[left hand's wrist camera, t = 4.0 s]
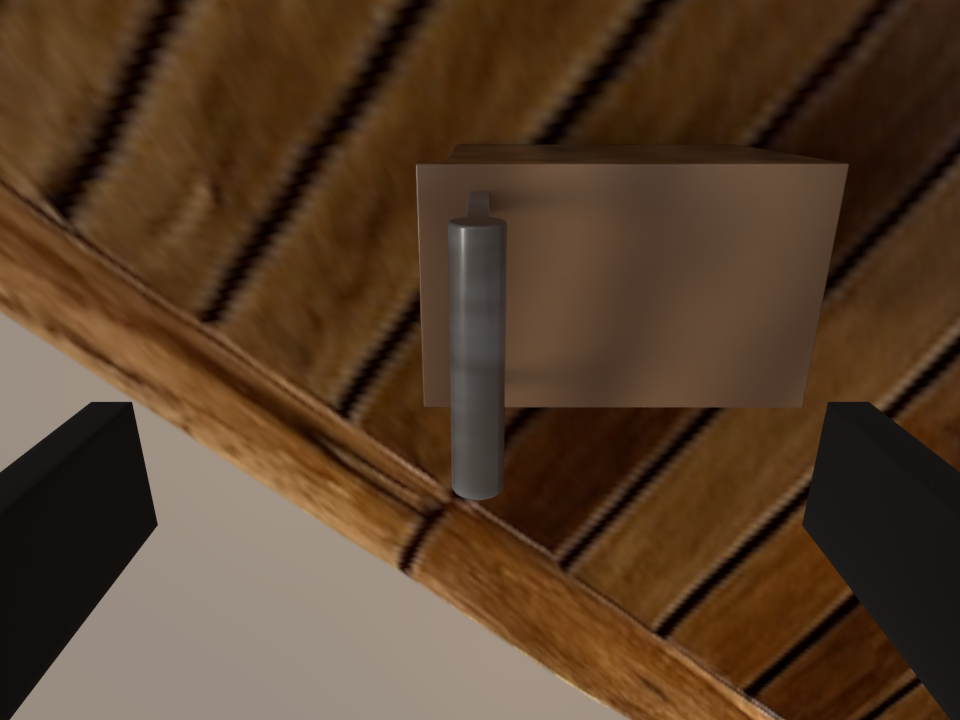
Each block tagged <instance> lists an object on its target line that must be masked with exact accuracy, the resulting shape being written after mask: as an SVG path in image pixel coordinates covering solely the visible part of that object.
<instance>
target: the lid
mask: <svg viewBox="0 0 960 720" xmlns="http://www.w3.org/2000/svg"><path fill="white" fill-rule="evenodd" d="M848 168H849V164H847V163H842V162H418V163H417V164H416V194H417V224H418V253H419V282H420V311H421V341H422V370H423V399H424V407H451V458H452V488H453V490H454V491H455V493H456V494H458V495H459V496H461V497H463V498H466V499H471V500H484V499H489V498H492V497H494V496H496V495H498V494H499V493H500V492H501V490H502V488H503V484H504V416H505V407H802V405H803V399H804V394H805V389H806V384H807V379H808V374H809V369H810V363H811V358H812V353H813V348H814V343H815V338H816V333H817V327H818V322H819V317H820V312H821V307H822V302H823V296H824V291H825V286H826V281H827V276H828V271H829V266H830V260H831V255H832V250H833V245H834V240H835V235H836V230H837V224H838V219H839V214H840V209H841V204H842V199H843V193H844V188H845V183H846V178H847V173H848Z"/></svg>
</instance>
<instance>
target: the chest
mask: <svg viewBox="0 0 960 720" xmlns="http://www.w3.org/2000/svg"><path fill="white" fill-rule="evenodd" d="M447 162H834V161H829V160H823V159H817V158H812V157H806V156H800V155H794V154H788V153H782V152H776V151H770V150H764V149H758V148H752V147H747V146H740V145H456V147H455V148H454V150H453V152H452V154H451V156H450V157H449V159H448V161H447Z"/></svg>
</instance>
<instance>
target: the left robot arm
mask: <svg viewBox="0 0 960 720" xmlns="http://www.w3.org/2000/svg"><path fill="white" fill-rule="evenodd" d="M157 525H158V524H157V519H156V515H155V510H154V505H153V500H152V495H151V491H150V486H149V481H148V476H147V472H146V467H145V462H144V457H143V452H142V448H141V443H140V438H139V433H138V428H137V424H136V419H135V414H134V409H133V405H132V402H91V403H89V404H88V405H87V406H86V407H84V408H83V409H82V410H80V411H79V412H78V413H77V414H75V415H74V416H73V417H71V418H70V419H69V420H67V421H66V422H65V423H64V424H62V425H61V426H60V427H58V428H57V429H56V430H54V431H53V432H52V433H51V434H49V435H48V436H47V437H46V438H44V439H43V440H42V441H40V442H39V443H38V444H36V445H35V446H34V447H33V448H31V449H30V450H29V451H27V452H26V453H25V454H24V455H22V456H21V457H20V458H18V459H17V460H16V461H14V462H13V463H12V464H11V465H9V466H8V467H7V468H5V469H4V470H3V471H1V472H0V720H10V719H11V717H12V716H13V715H14V713H15V712H16V711H17V709H18V708H19V707H20V705H21V704H22V703H23V701H24V700H25V699H26V697H27V696H28V695H29V694H30V692H31V691H32V690H33V688H34V687H35V686H36V684H37V683H38V682H39V680H40V679H41V678H42V676H43V675H44V674H45V672H46V671H47V670H48V668H49V667H50V666H51V665H52V663H53V662H54V661H55V659H56V658H57V657H58V655H59V654H60V653H61V652H62V650H63V649H64V648H65V646H66V645H67V644H68V642H69V641H70V640H71V638H72V637H73V636H74V634H75V633H76V632H77V631H78V629H79V628H80V627H81V625H82V624H83V623H84V621H85V620H86V619H87V617H88V616H89V615H90V613H91V612H92V611H93V609H94V608H95V607H96V605H97V604H98V603H99V602H100V600H101V599H102V598H103V596H104V595H105V594H106V592H107V591H108V590H109V588H110V587H111V586H112V584H113V583H114V582H115V581H116V579H117V578H118V577H119V575H120V574H121V573H122V571H123V570H124V569H125V567H126V566H127V565H128V563H129V562H130V561H131V560H132V558H133V557H134V556H135V554H136V553H137V552H138V550H139V549H140V548H141V546H142V545H143V544H144V542H145V541H146V540H147V539H148V537H149V536H150V535H151V533H152V532H153V531H154V529H155V528H156V527H157ZM802 525H803V527H804V528H805V529H806V531H807V532H808V533H809V535H810V536H811V537H812V539H813V540H814V541H815V542H816V544H817V545H818V546H819V548H820V549H821V550H822V552H823V553H824V554H825V556H826V557H827V558H828V560H829V561H830V562H831V563H832V565H833V566H834V567H835V569H836V570H837V571H838V573H839V574H840V575H841V577H842V578H843V579H844V581H845V582H846V583H847V585H848V586H849V587H850V588H851V590H852V591H853V592H854V594H855V595H856V596H857V598H858V599H859V600H860V602H861V603H862V604H863V606H864V607H865V608H866V609H867V611H868V612H869V613H870V615H871V616H872V617H873V619H874V620H875V621H876V623H877V624H878V625H879V627H880V628H881V629H882V631H883V632H884V633H885V634H886V636H887V637H888V638H889V640H890V641H891V642H892V644H893V645H894V646H895V648H896V649H897V650H898V652H899V653H900V654H901V655H902V657H903V658H904V659H905V661H906V662H907V663H908V665H909V666H910V667H911V669H912V670H913V671H914V673H915V674H916V675H917V676H918V678H919V679H920V680H921V682H922V683H923V684H924V686H925V687H926V688H927V690H928V691H929V692H930V694H931V695H932V696H933V698H934V699H935V700H936V701H937V703H938V704H939V705H940V707H941V708H942V709H943V711H944V712H945V713H946V715H947V716H948V717H949V719H950V720H960V472H959V471H957V470H956V469H955V468H953V467H952V466H951V465H949V464H948V463H947V462H946V461H944V460H943V459H942V458H940V457H939V456H938V455H937V454H935V453H934V452H933V451H931V450H930V449H929V448H927V447H926V446H925V445H924V444H922V443H921V442H920V441H918V440H917V439H916V438H915V437H913V436H912V435H911V434H909V433H908V432H907V431H906V430H904V429H903V428H902V427H900V426H899V425H898V424H896V423H895V422H894V421H893V420H891V419H890V418H889V417H887V416H886V415H885V414H884V413H882V412H881V411H880V410H878V409H877V408H876V407H874V406H873V405H872V404H871V403H869V402H828V405H827V409H826V414H825V419H824V424H823V428H822V433H821V438H820V443H819V448H818V452H817V457H816V462H815V467H814V471H813V476H812V481H811V486H810V491H809V495H808V500H807V505H806V510H805V514H804V519H803V524H802Z"/></svg>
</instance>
